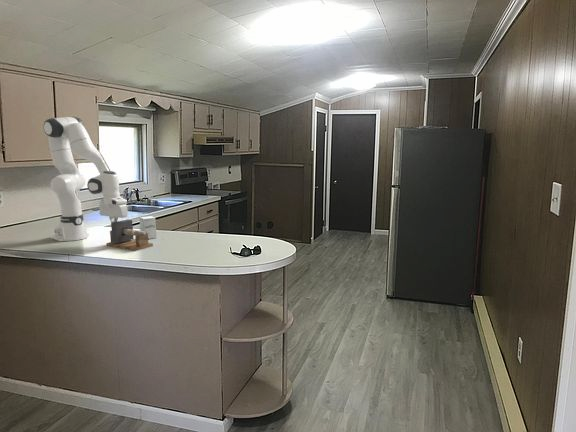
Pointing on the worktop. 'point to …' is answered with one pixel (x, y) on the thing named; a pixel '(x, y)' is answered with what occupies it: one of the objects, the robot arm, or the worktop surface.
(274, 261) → the worktop surface
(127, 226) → the grey flat block
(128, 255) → the worktop surface
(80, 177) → the robot arm
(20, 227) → the worktop surface
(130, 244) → the pipe stand
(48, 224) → the worktop surface
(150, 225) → the supplement box
